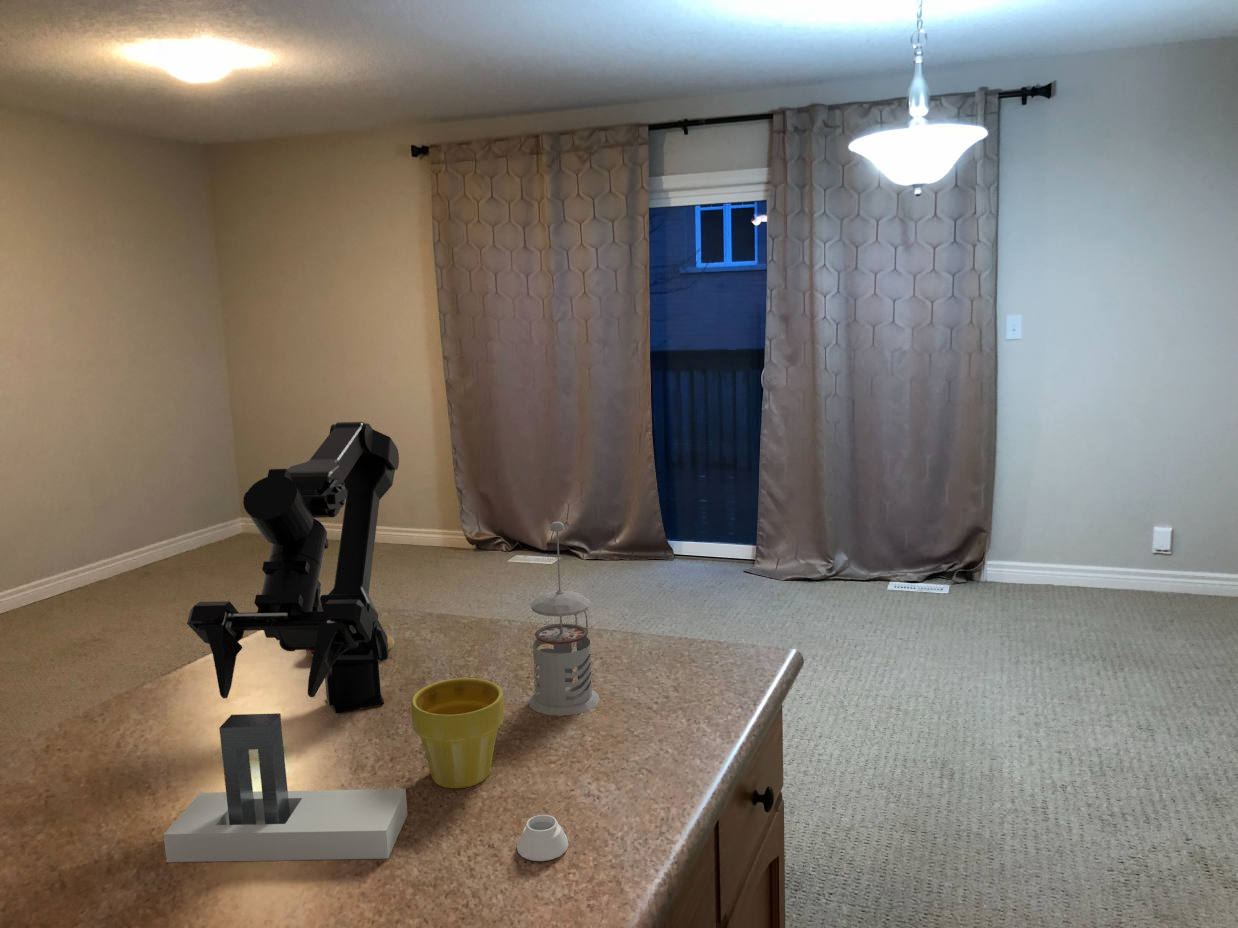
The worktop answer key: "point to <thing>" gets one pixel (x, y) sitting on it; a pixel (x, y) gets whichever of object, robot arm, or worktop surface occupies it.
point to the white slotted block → (291, 828)
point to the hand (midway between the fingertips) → (267, 696)
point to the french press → (562, 654)
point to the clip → (235, 745)
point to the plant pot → (458, 728)
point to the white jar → (542, 839)
